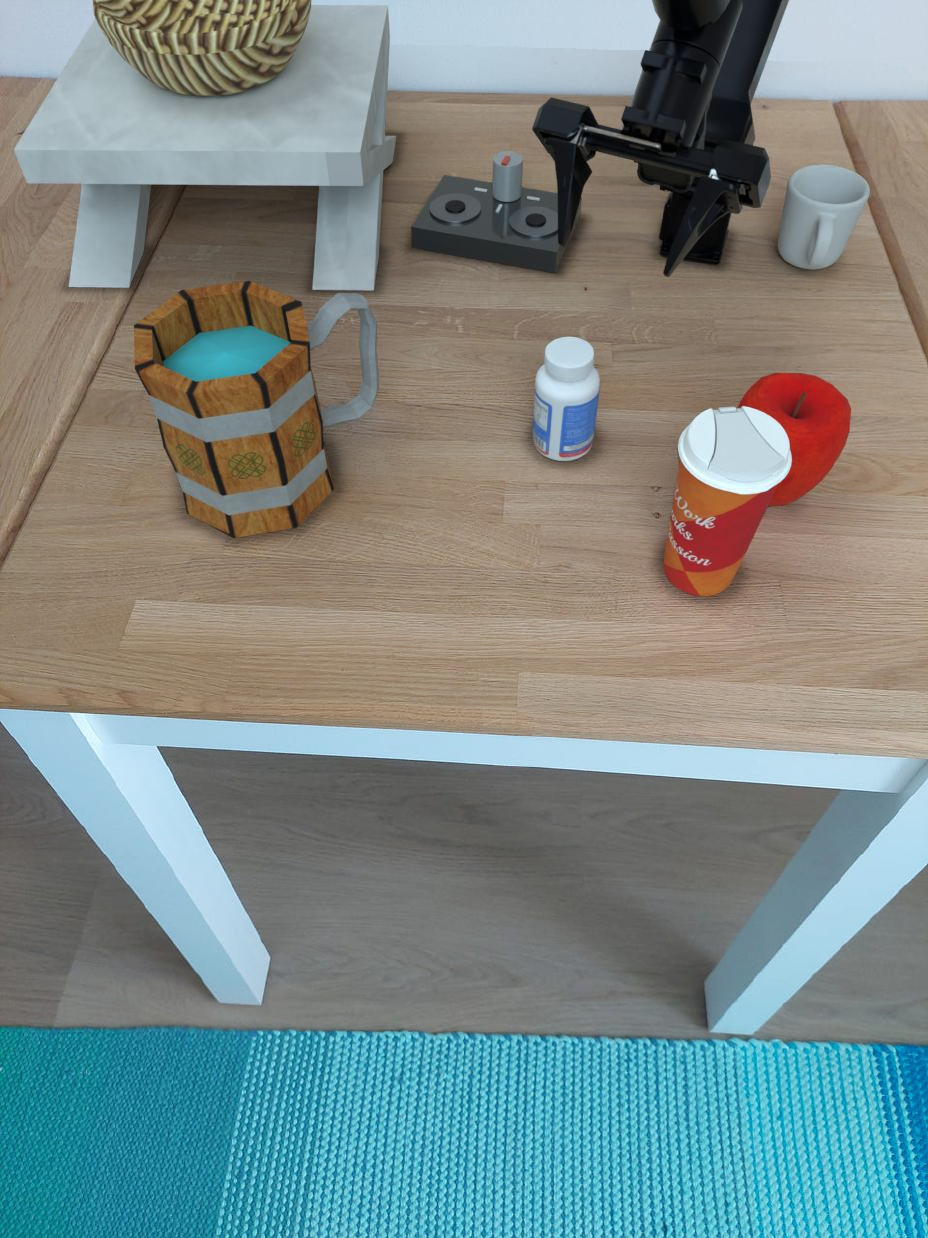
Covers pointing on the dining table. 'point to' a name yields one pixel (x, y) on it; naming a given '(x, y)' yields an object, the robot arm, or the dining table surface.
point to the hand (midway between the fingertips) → (612, 260)
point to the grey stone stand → (219, 122)
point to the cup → (820, 214)
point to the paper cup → (722, 494)
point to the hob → (490, 228)
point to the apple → (803, 426)
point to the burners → (521, 221)
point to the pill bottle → (566, 400)
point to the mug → (247, 400)
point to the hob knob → (507, 176)
